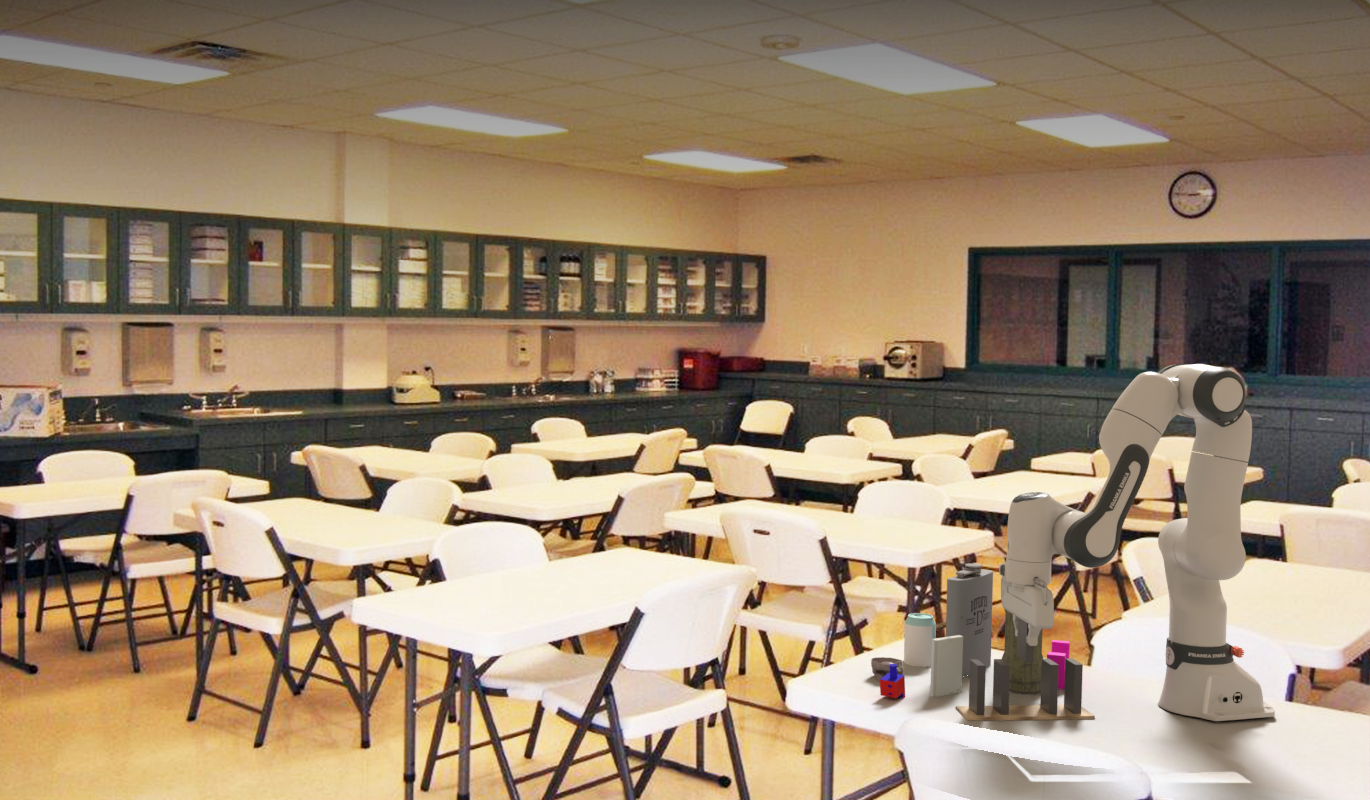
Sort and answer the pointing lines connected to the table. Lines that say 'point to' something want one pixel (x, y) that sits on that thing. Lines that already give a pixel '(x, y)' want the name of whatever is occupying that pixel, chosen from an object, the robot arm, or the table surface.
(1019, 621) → the tile
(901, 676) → the toy building block
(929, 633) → the can
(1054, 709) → the tile
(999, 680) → the tile
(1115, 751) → the table surface
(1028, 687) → the thermos
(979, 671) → the tile
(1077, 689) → the tile
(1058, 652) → the toy block
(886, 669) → the dental mold
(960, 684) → the external hard drive
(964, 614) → the flask
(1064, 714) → the oak board
